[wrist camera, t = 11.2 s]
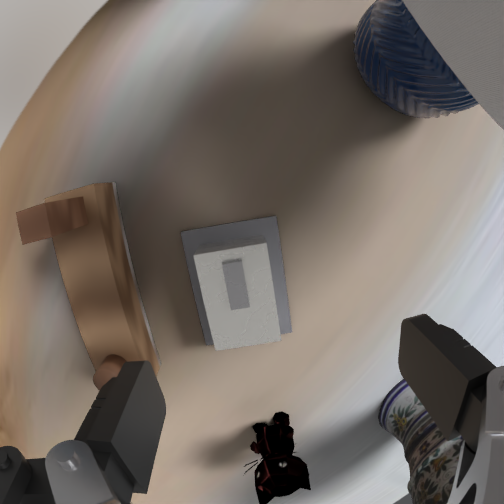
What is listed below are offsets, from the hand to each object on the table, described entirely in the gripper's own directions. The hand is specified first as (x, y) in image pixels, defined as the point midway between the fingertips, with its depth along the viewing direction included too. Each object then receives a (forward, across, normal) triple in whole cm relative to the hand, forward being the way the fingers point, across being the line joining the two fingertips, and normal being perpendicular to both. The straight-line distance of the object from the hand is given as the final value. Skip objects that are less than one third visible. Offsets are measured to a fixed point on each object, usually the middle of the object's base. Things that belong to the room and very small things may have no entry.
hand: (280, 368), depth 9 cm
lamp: (+22, -18, -15) cm, 32 cm away
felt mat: (+21, +2, +5) cm, 22 cm away
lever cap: (+21, +2, +5) cm, 21 cm away
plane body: (+21, +15, +3) cm, 26 cm away
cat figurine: (+21, +1, +25) cm, 33 cm away
